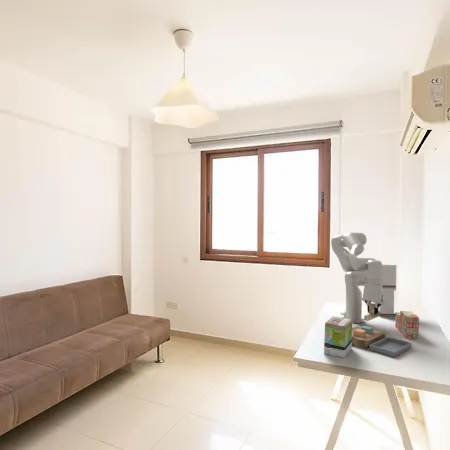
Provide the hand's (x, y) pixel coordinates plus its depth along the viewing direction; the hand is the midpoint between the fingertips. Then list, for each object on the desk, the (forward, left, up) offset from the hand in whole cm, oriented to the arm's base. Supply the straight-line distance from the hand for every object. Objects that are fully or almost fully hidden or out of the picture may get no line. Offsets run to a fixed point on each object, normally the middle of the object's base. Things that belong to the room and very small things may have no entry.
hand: (372, 312), depth 193 cm
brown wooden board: (+4, -21, -11) cm, 23 cm away
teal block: (+5, -17, -7) cm, 18 cm away
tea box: (+4, -44, -11) cm, 45 cm away
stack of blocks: (+14, +13, -11) cm, 22 cm away
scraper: (0, 0, -3) cm, 3 cm away
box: (+19, -21, -11) cm, 30 cm away
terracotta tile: (+5, -25, -7) cm, 26 cm away
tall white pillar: (-12, +42, -11) cm, 45 cm away
